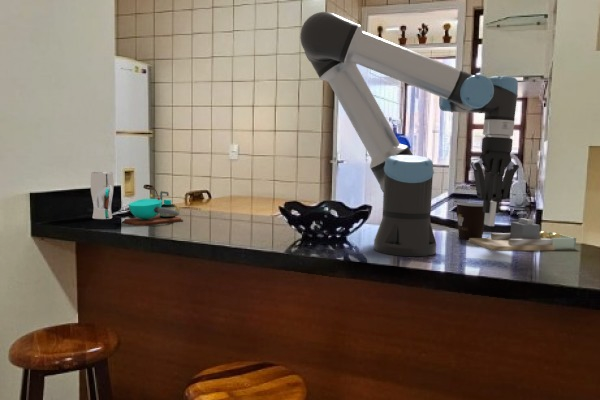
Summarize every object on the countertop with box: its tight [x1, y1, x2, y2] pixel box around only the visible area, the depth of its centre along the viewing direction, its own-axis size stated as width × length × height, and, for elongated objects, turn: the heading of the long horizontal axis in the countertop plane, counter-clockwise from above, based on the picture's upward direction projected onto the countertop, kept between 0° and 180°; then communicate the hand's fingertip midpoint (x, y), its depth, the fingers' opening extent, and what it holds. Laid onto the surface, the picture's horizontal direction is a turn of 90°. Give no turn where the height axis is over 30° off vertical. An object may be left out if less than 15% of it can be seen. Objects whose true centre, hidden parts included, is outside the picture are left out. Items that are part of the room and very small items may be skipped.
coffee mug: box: [456, 202, 486, 241], centre depth 154 cm, size 12×9×10 cm
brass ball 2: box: [549, 232, 562, 239], centre depth 145 cm, size 3×3×3 cm
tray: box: [546, 231, 577, 250], centre depth 145 cm, size 7×10×3 cm
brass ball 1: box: [539, 230, 549, 239], centre depth 147 cm, size 3×3×3 cm
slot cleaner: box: [509, 217, 541, 239], centre depth 143 cm, size 5×6×6 cm
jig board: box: [468, 232, 556, 251], centre depth 143 cm, size 18×12×3 cm, turn 101°
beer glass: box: [90, 171, 115, 220], centre depth 170 cm, size 7×7×15 cm
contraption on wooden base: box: [122, 184, 184, 227], centre depth 165 cm, size 14×18×15 cm
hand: (489, 225), depth 141 cm, fingers closed
